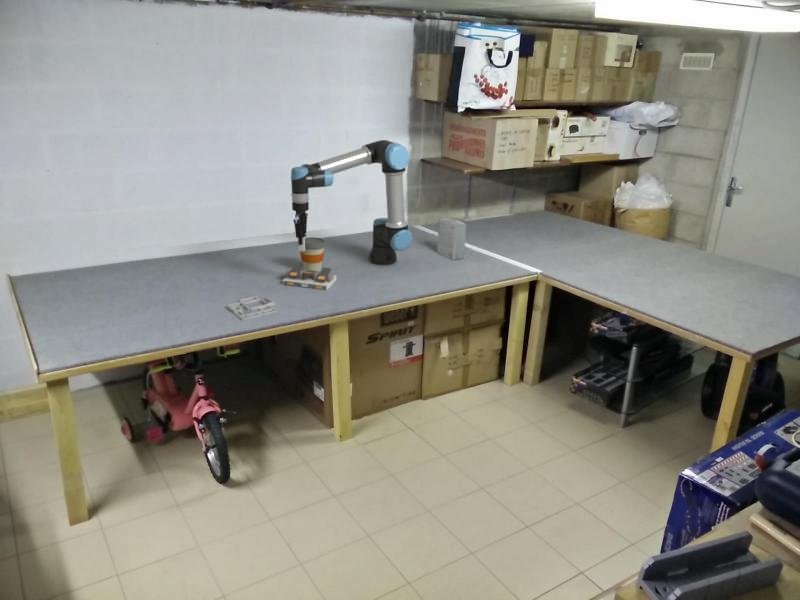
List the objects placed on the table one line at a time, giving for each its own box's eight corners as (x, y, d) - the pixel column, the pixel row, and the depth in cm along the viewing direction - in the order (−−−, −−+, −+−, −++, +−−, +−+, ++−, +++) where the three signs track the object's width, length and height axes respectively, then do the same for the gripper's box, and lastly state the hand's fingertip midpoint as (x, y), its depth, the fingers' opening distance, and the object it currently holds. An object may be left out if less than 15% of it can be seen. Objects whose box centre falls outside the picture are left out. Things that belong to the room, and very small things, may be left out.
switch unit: (336, 279, 306) (336, 269, 304) (326, 290, 292) (326, 280, 290) (293, 274, 310) (293, 264, 308) (282, 284, 295) (282, 274, 294)
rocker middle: (318, 273, 304) (318, 270, 303) (311, 276, 294) (311, 273, 294) (308, 272, 305) (308, 269, 304) (301, 275, 295) (301, 272, 295)
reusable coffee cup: (322, 264, 325) (323, 236, 320) (326, 272, 314) (326, 244, 308) (298, 265, 322) (298, 237, 317) (301, 273, 311) (300, 244, 305)
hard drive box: (464, 258, 346) (467, 224, 339) (453, 260, 342) (456, 225, 335) (446, 251, 358) (449, 217, 351) (436, 252, 354) (438, 218, 347)
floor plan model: (256, 293, 285) (256, 289, 285) (283, 311, 268) (283, 307, 267) (217, 301, 274) (217, 297, 273) (242, 321, 256) (242, 317, 256)
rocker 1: (304, 267, 304) (304, 265, 304) (297, 278, 296) (297, 276, 295) (294, 266, 305) (294, 264, 304) (287, 277, 297) (287, 274, 296)
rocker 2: (332, 270, 302) (331, 268, 301) (325, 282, 294) (325, 280, 293) (322, 269, 303) (321, 267, 302) (315, 281, 295) (315, 278, 294)
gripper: (297, 197, 292) (298, 245, 301) (287, 204, 280) (289, 253, 289) (312, 198, 291) (313, 247, 300) (303, 205, 279) (304, 255, 288)
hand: (301, 250), depth 295 cm, fingers closed
